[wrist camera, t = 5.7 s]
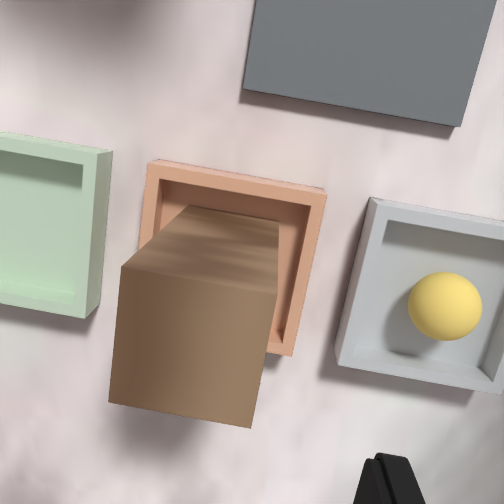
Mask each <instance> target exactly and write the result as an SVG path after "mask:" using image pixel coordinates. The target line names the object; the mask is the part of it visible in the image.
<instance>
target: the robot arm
mask: <svg viewBox="0 0 504 504" xmlns="http://www.w3.org/2000/svg"><path fill="white" fill-rule="evenodd" d="M353 504H426V503H425V501H424V498H423V496H422V493H421V491H420V488H419V486H418V483H417V480H416V478H415V475H414V473H413V470H412V468H411V465H410V463H409V461H408V459H407V458H405V457H401V456H396V455H390V454H384V453H377V454H376V455H375V458H374V459H369V458H368V459H366V461H365V463H364V467H363V470H362V474H361V477H360V481H359V484H358V488H357V491H356V495H355V498H354V502H353Z"/></svg>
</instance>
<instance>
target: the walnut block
mask: <svg viewBox="0 0 504 504" xmlns="http://www.w3.org/2000/svg"><path fill="white" fill-rule="evenodd" d="M278 250H279V221H276V220H270V219H265V218H259V217H254V216H248V215H243V214H237V213H232V212H226V211H221V210H215V209H210V208H204V207H198V206H193V205H188V206H187V207H185V208H184V209H183V210H182V211H181V212H180V213H179V214H178V215H177V216H176V217H175V218H174V219H172V220H171V221H170V222H169V223H168V224H167V225H166V226H165V227H164V228H163V229H162V230H160V231H159V232H158V233H157V234H156V235H155V236H154V237H153V238H152V239H151V240H150V241H149V242H147V243H146V244H145V245H144V246H143V247H142V248H141V249H140V250H139V251H138V252H137V253H136V254H134V255H133V256H132V257H131V258H130V259H129V260H128V261H127V262H126V263H125V264H124V265H122V266H121V276H120V286H119V297H118V307H117V317H116V328H115V338H114V348H113V359H112V369H111V379H110V390H109V400H108V402H110V403H115V404H120V405H126V406H131V407H137V408H142V409H147V410H153V411H158V412H163V413H169V414H174V415H180V416H185V417H190V418H196V419H201V420H207V421H212V422H217V423H223V424H228V425H234V426H239V427H244V428H250V429H251V426H252V421H253V416H254V411H255V406H256V401H257V396H258V391H259V386H260V381H261V375H262V370H263V365H264V360H265V355H266V350H267V345H268V340H269V335H270V330H271V325H272V320H273V315H274V310H275V305H276V300H277V295H278Z"/></svg>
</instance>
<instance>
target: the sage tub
mask: <svg viewBox="0 0 504 504" xmlns="http://www.w3.org/2000/svg"><path fill="white" fill-rule="evenodd" d="M112 154H113V151H110V150H105V149H99V148H94V147H88V146H83V145H77V144H71V143H66V142H60V141H55V140H49V139H44V138H38V137H32V136H27V135H21V134H16V133H10V132H5V131H0V303H2V304H7V305H13V306H18V307H24V308H29V309H34V310H40V311H45V312H51V313H56V314H62V315H67V316H73V317H78V318H83V319H85V318H86V317H87V316H88V315H89V314H90V313H91V312H92V311H93V310H94V309H95V308H96V307H97V306H98V305H99V304H100V295H101V284H102V272H103V260H104V248H105V236H106V225H107V213H108V201H109V189H110V178H111V166H112Z"/></svg>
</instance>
